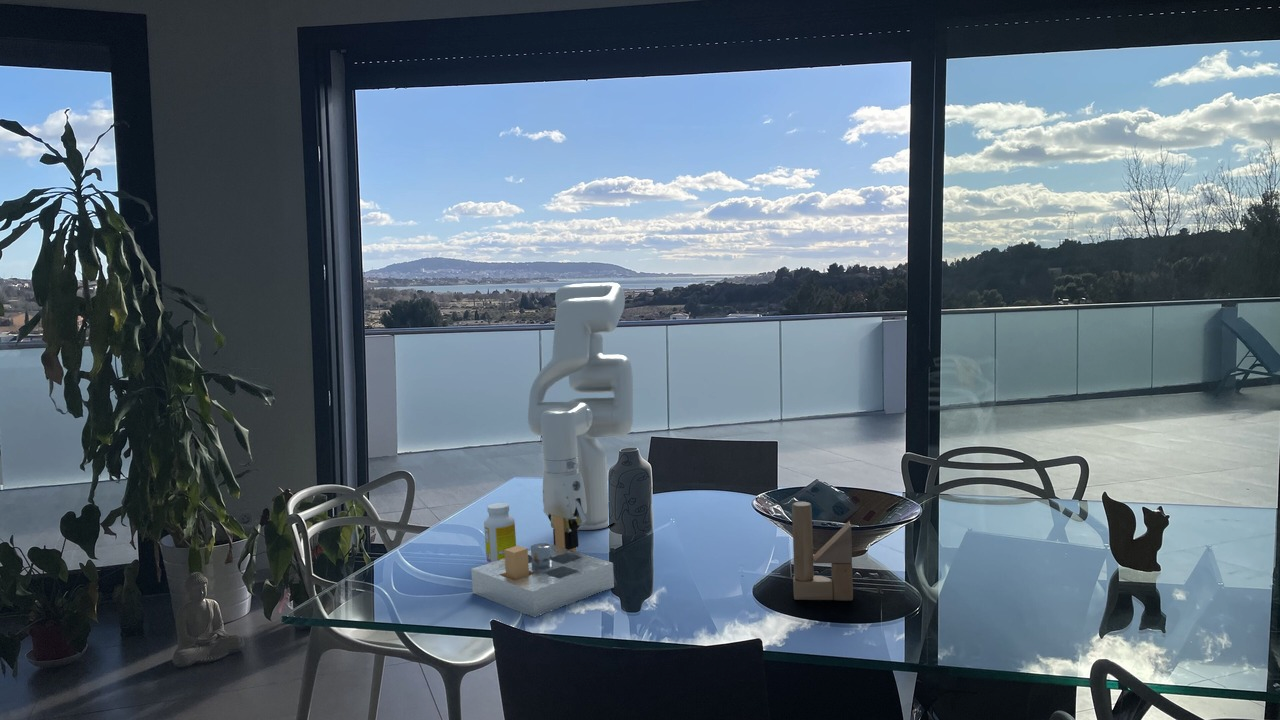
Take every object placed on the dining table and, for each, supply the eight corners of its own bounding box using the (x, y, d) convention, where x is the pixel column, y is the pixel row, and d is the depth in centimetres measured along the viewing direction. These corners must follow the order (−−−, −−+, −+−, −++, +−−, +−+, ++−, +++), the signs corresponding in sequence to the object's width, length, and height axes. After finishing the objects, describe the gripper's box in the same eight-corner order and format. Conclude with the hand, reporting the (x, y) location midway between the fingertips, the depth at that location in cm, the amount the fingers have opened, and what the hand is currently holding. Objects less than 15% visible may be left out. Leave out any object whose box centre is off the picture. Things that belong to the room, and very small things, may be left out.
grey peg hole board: (551, 566, 193) (548, 525, 192) (614, 587, 178) (611, 543, 177) (472, 593, 179) (469, 549, 178) (534, 617, 164) (531, 570, 164)
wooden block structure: (853, 601, 165) (850, 506, 163) (794, 600, 167) (791, 506, 165) (851, 594, 169) (849, 500, 167) (793, 593, 170) (790, 501, 169)
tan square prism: (567, 551, 200) (564, 508, 198) (576, 554, 197) (573, 511, 196) (556, 555, 198) (553, 511, 196) (565, 558, 195) (562, 514, 194)
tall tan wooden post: (520, 594, 177) (517, 545, 176) (530, 598, 174) (527, 548, 173) (507, 599, 174) (504, 549, 173) (517, 603, 172) (514, 552, 171)
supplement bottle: (523, 559, 199) (519, 502, 197) (506, 568, 193) (502, 510, 191) (497, 556, 201) (494, 500, 200) (480, 565, 195) (476, 508, 194)
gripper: (599, 466, 192) (603, 549, 194) (550, 456, 203) (555, 534, 206) (572, 474, 186) (577, 559, 189) (524, 463, 198) (529, 543, 201)
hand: (566, 545), depth 197 cm, fingers closed on tan square prism, 3 cm apart
